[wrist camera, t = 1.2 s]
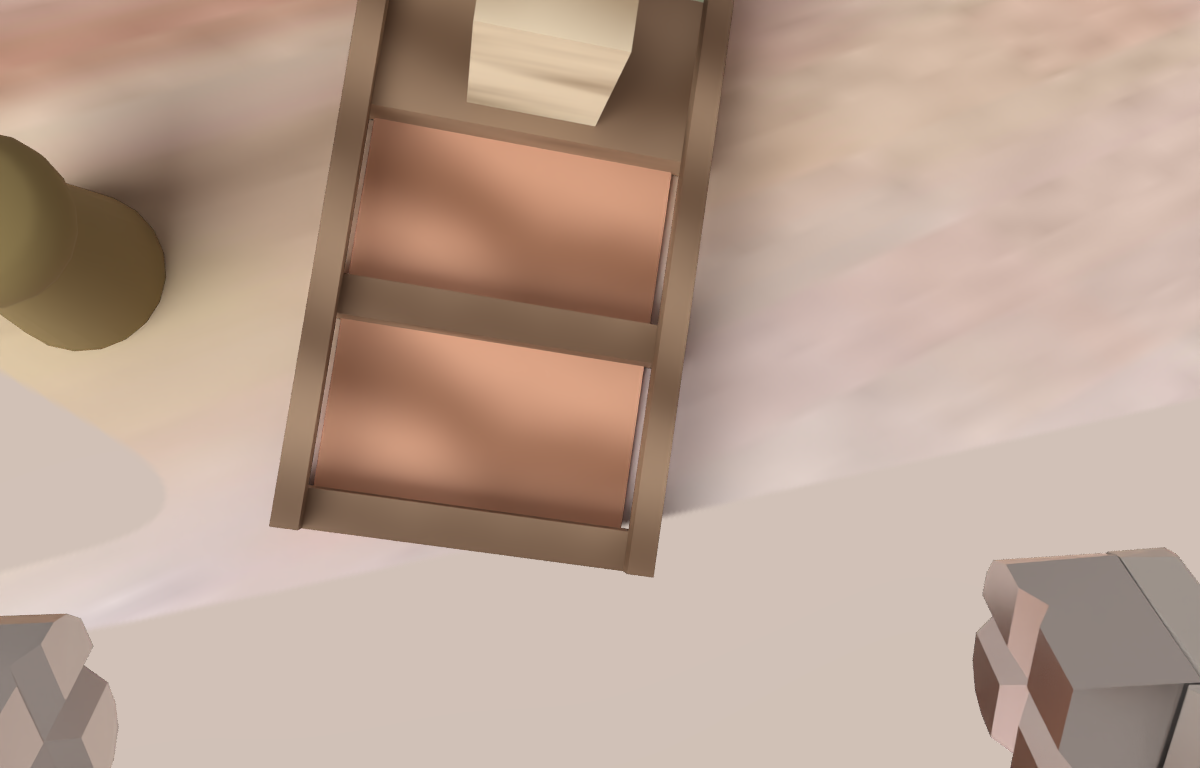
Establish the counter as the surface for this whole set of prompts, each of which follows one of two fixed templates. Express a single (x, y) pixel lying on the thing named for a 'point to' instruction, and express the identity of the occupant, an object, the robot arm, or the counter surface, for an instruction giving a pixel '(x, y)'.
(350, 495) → the trap box
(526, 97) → the birch block
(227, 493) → the counter surface
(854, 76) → the counter surface
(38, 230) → the cork
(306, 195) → the counter surface
